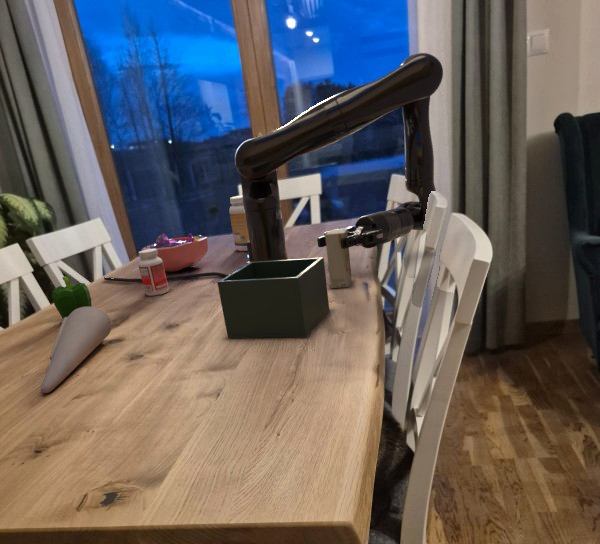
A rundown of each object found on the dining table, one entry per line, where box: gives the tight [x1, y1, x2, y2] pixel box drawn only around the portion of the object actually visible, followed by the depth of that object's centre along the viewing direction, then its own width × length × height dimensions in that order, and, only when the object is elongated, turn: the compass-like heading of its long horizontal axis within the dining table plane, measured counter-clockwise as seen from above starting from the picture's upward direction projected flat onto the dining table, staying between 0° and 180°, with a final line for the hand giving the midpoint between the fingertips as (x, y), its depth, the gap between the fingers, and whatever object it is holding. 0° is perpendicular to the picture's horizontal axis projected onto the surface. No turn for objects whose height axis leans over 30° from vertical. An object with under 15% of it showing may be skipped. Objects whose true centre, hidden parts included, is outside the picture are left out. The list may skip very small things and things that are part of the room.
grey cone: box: [40, 306, 112, 394], centre depth 105 cm, size 8×9×26 cm
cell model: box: [141, 233, 209, 273], centre depth 175 cm, size 17×20×11 cm
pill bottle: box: [137, 249, 170, 297], centre depth 149 cm, size 6×6×11 cm
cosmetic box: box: [325, 228, 353, 289], centre depth 132 cm, size 6×4×12 cm
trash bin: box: [217, 257, 330, 339], centre depth 111 cm, size 16×16×11 cm
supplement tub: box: [228, 194, 249, 252], centre depth 192 cm, size 12×12×17 cm
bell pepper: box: [51, 275, 93, 320], centre depth 135 cm, size 8×8×10 cm
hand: (330, 243), depth 129 cm, fingers closed on cosmetic box, 7 cm apart
